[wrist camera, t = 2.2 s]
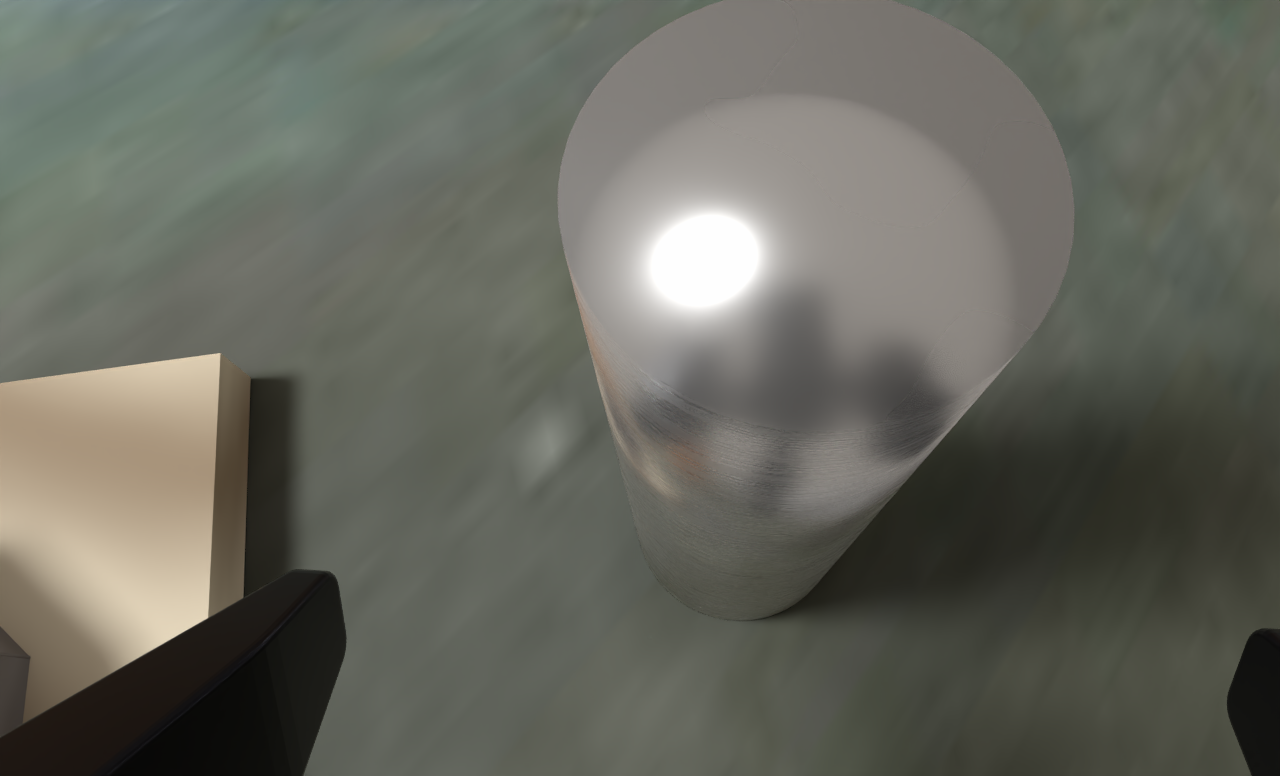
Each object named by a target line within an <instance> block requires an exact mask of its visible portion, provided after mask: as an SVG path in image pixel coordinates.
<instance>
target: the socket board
mask: <svg viewBox="0 0 1280 776" xmlns="http://www.w3.org/2000/svg"><path fill="white" fill-rule="evenodd" d="M250 383H251V377H249V376H248V375H247V374H246V373H244V372H243V371H242V370H241V369H239V368H238V367H237V366H236V365H234V364H233V363H232V362H231V361H230V360H228V359H227V358H226V357H225V356H223V355H222V354H221V353H218V354H211V355H204V356H196V357H189V358H182V359H174V360H167V361H160V362H152V363H145V364H138V365H130V366H123V367H116V368H108V369H101V370H94V371H86V372H79V373H72V374H65V375H57V376H50V377H43V378H35V379H28V380H21V381H13V382H6V383H0V736H2V735H4V734H5V733H7V732H9V731H11V730H12V729H14V728H16V727H18V726H19V725H21V724H23V723H25V722H26V721H28V720H30V719H32V718H33V717H35V716H37V715H39V714H40V713H42V712H44V711H46V710H48V709H49V708H51V707H53V706H55V705H56V704H58V703H60V702H62V701H63V700H65V699H67V698H69V697H70V696H72V695H74V694H76V693H77V692H79V691H81V690H83V689H84V688H86V687H88V686H90V685H91V684H93V683H95V682H97V681H98V680H100V679H102V678H104V677H105V676H107V675H109V674H111V673H112V672H114V671H116V670H118V669H119V668H121V667H123V666H125V665H126V664H128V663H130V662H132V661H133V660H135V659H137V658H139V657H140V656H142V655H144V654H146V653H147V652H149V651H151V650H153V649H154V648H156V647H158V646H160V645H161V644H163V643H165V642H167V641H168V640H170V639H172V638H174V637H175V636H177V635H179V634H181V633H182V632H184V631H186V630H188V629H189V628H191V627H193V626H195V625H196V624H198V623H200V622H202V621H203V620H205V619H207V618H209V617H210V616H212V615H214V614H216V613H217V612H219V611H221V610H223V609H224V608H226V607H228V606H230V605H231V604H233V603H235V602H237V601H238V600H240V599H242V598H243V594H244V564H245V534H246V503H247V473H248V443H249V413H250Z"/></svg>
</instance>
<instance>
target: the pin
mask: <svg viewBox="0 0 1280 776" xmlns="http://www.w3.org/2000/svg"><path fill="white" fill-rule="evenodd" d="M558 220H559V226H560V231H561V237H562V242H563V248H564V252H565V256H566V260H567V264H568V267H569V271H570V275H571V279H572V283H573V287H574V291H575V294H576V298H577V302H578V306H579V310H580V314H581V318H582V321H583V325H584V329H585V333H586V337H587V341H588V345H589V349H590V352H591V356H592V360H593V364H594V368H595V372H596V376H597V379H598V383H599V387H600V391H601V395H602V399H603V403H604V406H605V410H606V414H607V418H608V422H609V426H610V430H611V433H612V437H613V441H614V445H615V449H616V453H617V457H618V461H619V464H620V468H621V472H622V476H623V480H624V484H625V488H626V491H627V495H628V499H629V503H630V507H631V511H632V515H633V518H634V522H635V526H636V530H637V534H638V538H639V542H640V545H641V548H642V551H643V554H644V557H645V559H646V561H647V563H648V565H649V567H650V569H651V571H652V572H653V574H654V575H655V577H656V578H657V580H658V581H659V582H660V583H661V585H662V586H663V587H664V588H665V589H666V590H667V591H668V592H669V593H670V594H671V595H672V596H674V597H675V598H676V599H677V600H678V601H680V602H681V603H683V604H684V605H686V606H687V607H689V608H691V609H693V610H695V611H697V612H699V613H702V614H705V615H708V616H711V617H714V618H719V619H724V620H734V621H745V620H756V619H761V618H765V617H769V616H772V615H774V614H777V613H780V612H782V611H784V610H786V609H788V608H790V607H791V606H793V605H794V604H796V603H797V602H799V601H800V600H801V599H803V598H804V597H805V596H806V595H807V594H808V593H809V592H810V591H811V590H812V589H813V588H814V587H815V586H816V584H817V583H818V582H819V581H820V580H821V579H822V578H823V576H824V575H825V574H826V573H827V572H828V571H829V569H830V568H831V567H832V566H833V565H834V564H835V563H836V561H837V560H838V559H839V558H840V557H841V556H842V554H843V553H844V552H845V551H846V550H847V549H848V548H849V546H850V545H851V544H852V543H853V542H854V541H855V539H856V538H857V537H858V536H859V535H860V534H861V533H862V531H863V530H864V529H865V528H866V527H867V526H868V524H869V523H870V522H871V521H872V520H873V519H874V518H875V516H876V515H877V514H878V513H879V512H880V511H881V509H882V508H883V507H884V506H885V505H886V504H887V503H888V501H889V500H890V499H891V498H892V497H893V496H894V494H895V493H896V492H897V491H898V490H899V489H900V488H901V486H902V485H903V484H904V483H905V482H906V481H907V479H908V478H909V477H910V476H911V475H912V474H913V473H914V471H915V470H916V469H917V468H918V467H919V466H920V464H921V463H922V462H923V461H924V460H925V459H926V458H927V456H928V455H929V454H930V453H931V452H932V451H933V449H934V448H935V447H936V446H937V445H938V444H939V443H940V441H941V440H942V439H943V438H944V437H945V436H946V434H947V433H948V432H949V431H950V430H951V429H952V428H953V426H954V425H955V424H956V423H957V422H958V421H959V419H960V418H961V417H962V416H963V415H964V414H965V413H966V411H967V410H968V409H969V408H970V407H971V406H972V404H973V403H974V402H975V401H976V400H977V399H978V398H979V396H980V395H981V394H982V393H983V392H984V391H985V389H986V388H987V387H988V386H989V385H990V384H991V383H992V381H993V380H994V379H995V378H996V377H997V376H998V374H999V373H1000V372H1001V371H1002V370H1003V369H1004V368H1005V366H1006V365H1007V364H1008V363H1009V362H1010V361H1011V360H1012V358H1013V357H1014V356H1015V355H1016V354H1017V353H1018V351H1019V350H1020V349H1021V348H1022V347H1023V345H1024V344H1025V343H1026V342H1027V340H1028V339H1029V338H1030V337H1031V335H1032V334H1033V333H1034V332H1035V330H1036V329H1037V328H1038V327H1039V325H1040V324H1041V323H1042V321H1043V319H1044V317H1045V316H1046V314H1047V312H1048V310H1049V309H1050V307H1051V305H1052V303H1053V302H1054V300H1055V298H1056V296H1057V294H1058V291H1059V289H1060V286H1061V283H1062V281H1063V278H1064V275H1065V273H1066V270H1067V267H1068V262H1069V257H1070V252H1071V247H1072V242H1073V233H1074V201H1073V192H1072V183H1071V178H1070V174H1069V170H1068V167H1067V163H1066V160H1065V156H1064V152H1063V150H1062V147H1061V145H1060V143H1059V141H1058V138H1057V136H1056V134H1055V132H1054V129H1053V127H1052V125H1051V123H1050V121H1049V120H1048V118H1047V117H1046V115H1045V113H1044V112H1043V110H1042V108H1041V107H1040V105H1039V104H1038V102H1037V100H1036V99H1035V98H1034V96H1033V95H1032V94H1031V93H1030V92H1029V90H1028V89H1027V88H1026V87H1025V85H1024V84H1023V83H1022V82H1021V80H1020V79H1019V78H1018V77H1017V76H1016V75H1015V74H1014V73H1013V72H1012V71H1011V70H1010V69H1009V68H1008V67H1007V66H1006V65H1005V64H1004V63H1003V62H1002V61H1001V60H1000V59H999V58H997V57H996V56H995V55H994V54H993V53H991V52H990V51H989V50H987V49H986V48H985V47H983V46H982V45H981V44H979V43H978V42H977V41H975V40H974V39H973V38H971V37H970V36H968V35H966V34H965V33H963V32H961V31H960V30H958V29H956V28H955V27H953V26H951V25H950V24H948V23H946V22H944V21H942V20H940V19H938V18H935V17H933V16H931V15H929V14H927V13H924V12H922V11H920V10H918V9H915V8H912V7H909V6H906V5H903V4H900V3H897V2H894V1H891V0H725V1H721V2H718V3H715V4H711V5H708V6H706V7H703V8H701V9H699V10H696V11H694V12H691V13H689V14H687V15H684V16H682V17H680V18H678V19H676V20H675V21H673V22H671V23H669V24H668V25H666V26H664V27H662V28H660V29H659V30H657V31H655V32H654V33H652V34H651V35H650V36H648V37H647V38H646V39H644V40H643V41H642V42H640V43H639V44H637V45H636V46H635V47H633V48H632V49H631V50H630V51H629V52H628V53H627V54H626V55H625V56H623V57H622V58H621V59H620V60H619V61H618V62H617V63H616V64H615V65H614V66H613V67H612V68H611V69H610V70H609V71H608V73H607V74H606V75H605V76H604V78H603V79H602V80H601V81H600V82H599V84H598V85H597V86H596V87H595V88H594V90H593V91H592V93H591V95H590V96H589V98H588V100H587V101H586V103H585V104H584V106H583V108H582V109H581V111H580V112H579V115H578V117H577V119H576V122H575V124H574V126H573V128H572V131H571V133H570V135H569V137H568V141H567V144H566V148H565V152H564V155H563V159H562V163H561V168H560V177H559V185H558Z"/></svg>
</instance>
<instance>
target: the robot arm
mask: <svg viewBox="0 0 1280 776" xmlns="http://www.w3.org/2000/svg"><path fill="white" fill-rule="evenodd" d="M345 651H346V629H345V623H344V617H343V610H342V604H341V598H340V591H339V585H338V582H337V579H336V577H335V575H333V574H332V573H331V572H329V571H320V570H304V569H296V570H292V571H290V572H288V573H286V574H284V575H282V576H281V577H279V578H277V579H275V580H274V581H272V582H270V583H268V584H266V585H265V586H263V587H261V588H259V589H258V590H256V591H254V592H252V593H251V594H249V595H247V596H245V597H244V598H242V599H240V600H238V601H237V602H235V603H233V604H231V605H230V606H228V607H226V608H224V609H223V610H221V611H219V612H217V613H216V614H214V615H212V616H210V617H209V618H207V619H205V620H203V621H202V622H200V623H198V624H196V625H195V626H193V627H191V628H189V629H188V630H186V631H184V632H182V633H181V634H179V635H177V636H175V637H174V638H172V639H170V640H168V641H167V642H165V643H163V644H161V645H160V646H158V647H156V648H154V649H153V650H151V651H149V652H147V653H146V654H144V655H142V656H140V657H139V658H137V659H135V660H133V661H132V662H130V663H128V664H126V665H125V666H123V667H121V668H119V669H118V670H116V671H114V672H112V673H111V674H109V675H107V676H105V677H104V678H102V679H100V680H98V681H97V682H95V683H93V684H91V685H90V686H88V687H86V688H84V689H83V690H81V691H79V692H77V693H76V694H74V695H72V696H70V697H69V698H67V699H65V700H63V701H62V702H60V703H58V704H56V705H55V706H53V707H51V708H49V709H48V710H46V711H44V712H42V713H40V714H39V715H37V716H35V717H33V718H32V719H30V720H28V721H26V722H25V723H23V724H21V725H19V726H18V727H16V728H14V729H12V730H11V731H9V732H7V733H5V734H4V735H2V736H0V776H303V775H304V772H305V769H306V766H307V763H308V760H309V758H310V755H311V752H312V749H313V746H314V743H315V740H316V737H317V734H318V732H319V729H320V726H321V723H322V720H323V717H324V714H325V711H326V709H327V706H328V703H329V700H330V697H331V694H332V691H333V688H334V685H335V683H336V680H337V677H338V674H339V671H340V668H341V665H342V662H343V659H344V655H345ZM1227 710H1228V715H1229V719H1230V722H1231V725H1232V727H1233V730H1234V732H1235V735H1236V737H1237V740H1238V742H1239V745H1240V747H1241V750H1242V752H1243V755H1244V757H1245V760H1246V762H1247V765H1248V768H1249V770H1250V773H1251V775H1252V776H1280V629H1268V628H1263V629H1259V630H1256V631H1255V632H1253V633H1252V634H1251V635H1250V636H1249V638H1248V640H1247V643H1246V645H1245V648H1244V651H1243V653H1242V656H1241V659H1240V662H1239V664H1238V667H1237V670H1236V672H1235V675H1234V678H1233V681H1232V683H1231V686H1230V689H1229V692H1228V697H1227Z"/></svg>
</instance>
